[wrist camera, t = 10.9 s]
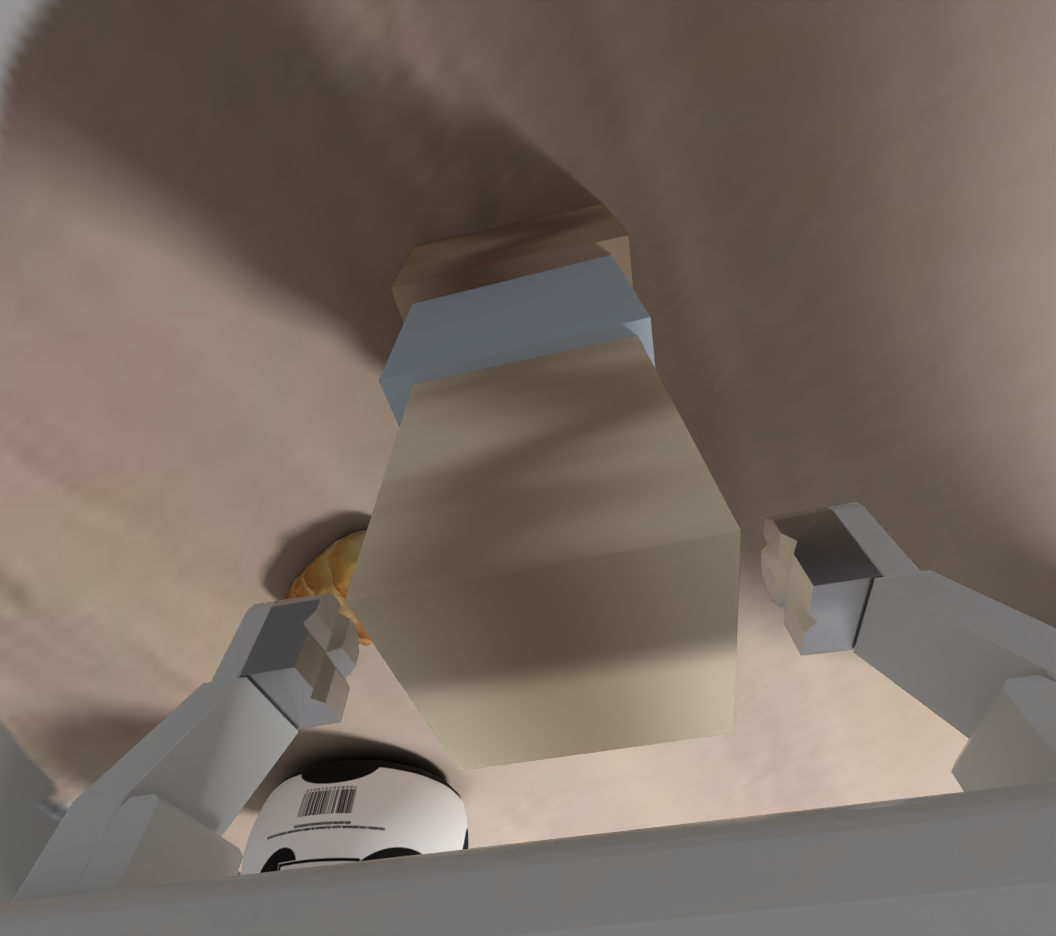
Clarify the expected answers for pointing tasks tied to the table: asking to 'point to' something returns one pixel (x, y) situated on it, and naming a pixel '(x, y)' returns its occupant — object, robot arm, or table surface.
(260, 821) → the milk container
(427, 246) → the walnut block
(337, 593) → the pastry
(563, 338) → the slate block
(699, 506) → the beech cube
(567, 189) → the table surface
